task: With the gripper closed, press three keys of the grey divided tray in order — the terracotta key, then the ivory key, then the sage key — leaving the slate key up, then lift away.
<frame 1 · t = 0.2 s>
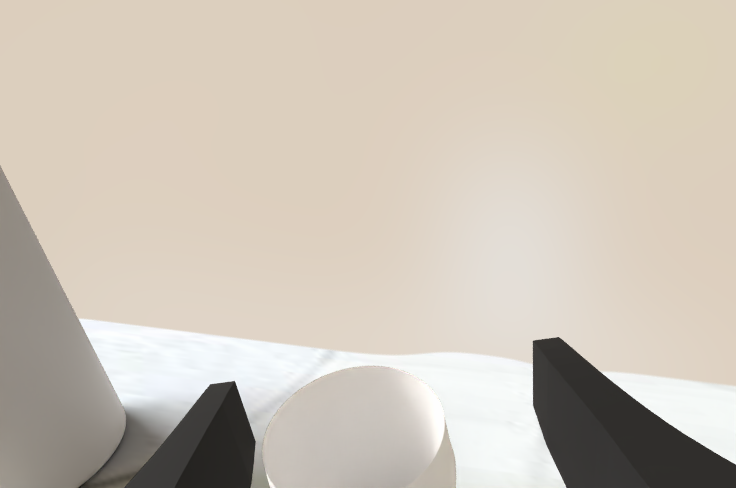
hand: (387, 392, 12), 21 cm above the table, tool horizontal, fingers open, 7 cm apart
cylinder vase: (54, 458, 44), on the table
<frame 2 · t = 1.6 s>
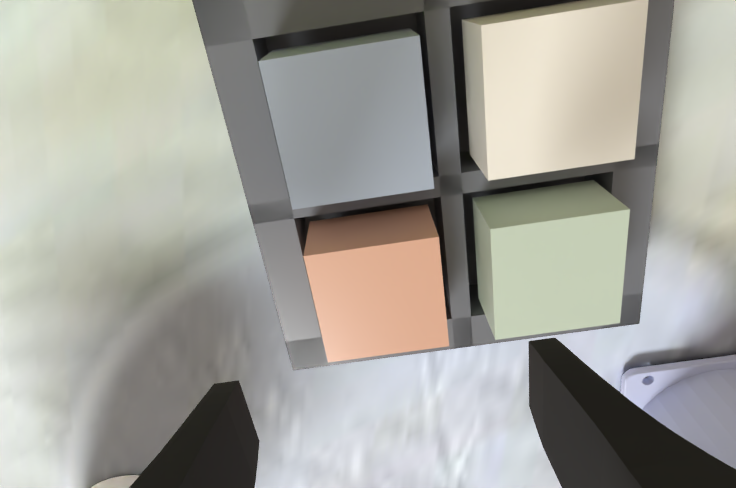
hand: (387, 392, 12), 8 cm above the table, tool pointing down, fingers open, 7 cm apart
terracotta key: (378, 282, 17), point 3 cm above the table, slide at 0.0 cm
grey divided tray: (439, 161, 19), on the table
sage key: (544, 259, 17), point 3 cm above the table, slide at 0.0 cm
slate key: (351, 117, 15), point 3 cm above the table, slide at 0.0 cm
ivory key: (546, 87, 14), point 3 cm above the table, slide at 0.0 cm
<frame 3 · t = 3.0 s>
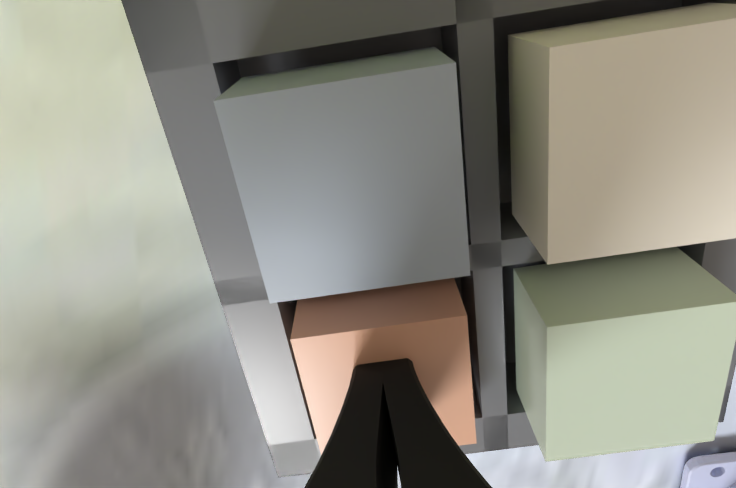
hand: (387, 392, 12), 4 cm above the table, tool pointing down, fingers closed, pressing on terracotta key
terracotta key: (386, 361, 14), point 2 cm above the table, slide at 0.8 cm, touching gripper
grey divided tray: (466, 214, 14), on the table
sage key: (611, 352, 13), point 3 cm above the table, slide at 0.0 cm
slate key: (353, 173, 10), point 3 cm above the table, slide at 0.0 cm
ivory key: (628, 131, 10), point 3 cm above the table, slide at 0.0 cm
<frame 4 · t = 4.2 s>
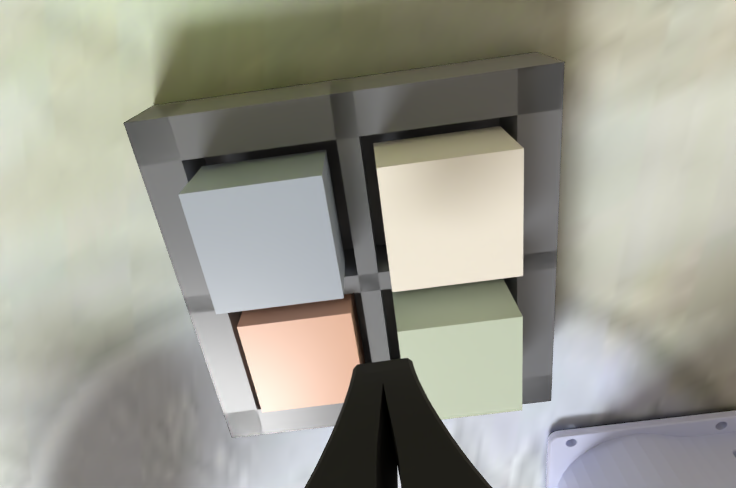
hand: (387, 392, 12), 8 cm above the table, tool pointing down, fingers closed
terracotta key: (307, 344, 20), point 2 cm above the table, slide at 1.4 cm
grey divided tray: (367, 249, 20), on the table
sage key: (456, 349, 18), point 3 cm above the table, slide at 0.0 cm
slate key: (271, 231, 16), point 3 cm above the table, slide at 0.0 cm
ivory key: (446, 208, 16), point 3 cm above the table, slide at 0.0 cm
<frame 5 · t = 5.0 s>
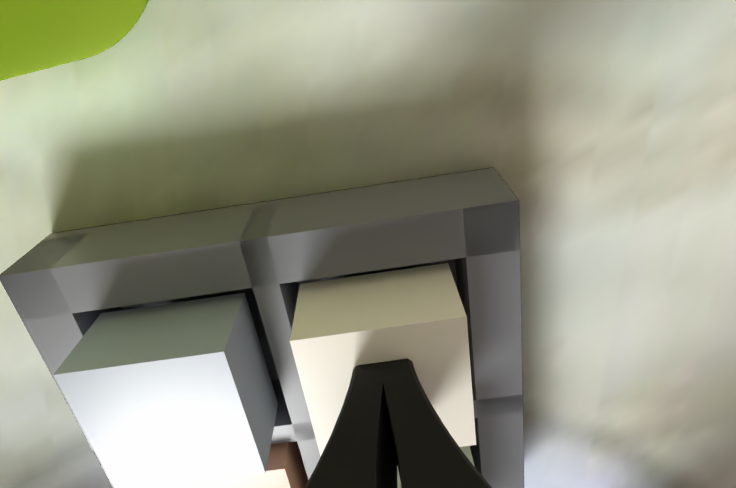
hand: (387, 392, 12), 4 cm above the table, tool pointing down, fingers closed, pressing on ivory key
terracotta key: (243, 486, 17), point 2 cm above the table, slide at 1.4 cm
grey divided tray: (312, 375, 18), on the table
slate key: (181, 391, 14), point 3 cm above the table, slide at 0.0 cm
ivory key: (386, 362, 14), point 3 cm above the table, slide at 0.1 cm, touching gripper
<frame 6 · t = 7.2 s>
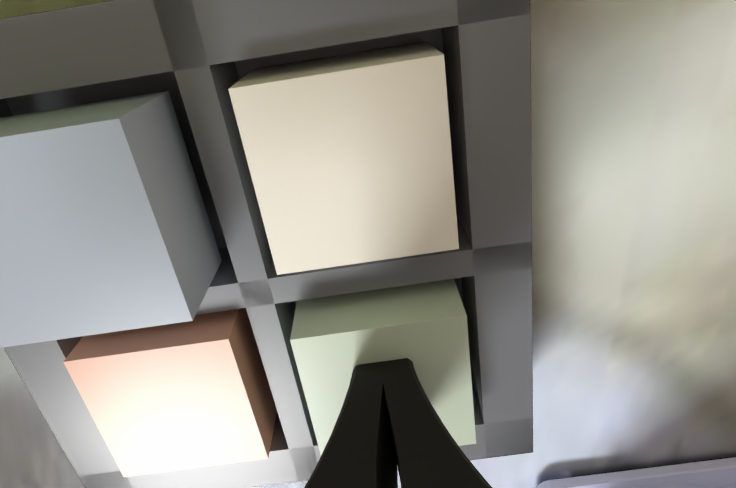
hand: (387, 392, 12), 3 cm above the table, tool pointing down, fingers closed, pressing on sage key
terracotta key: (186, 379, 14), point 2 cm above the table, slide at 1.4 cm
grey divided tray: (271, 246, 14), on the table
sage key: (386, 361, 14), point 2 cm above the table, slide at 1.0 cm, touching gripper
slate key: (84, 217, 10), point 3 cm above the table, slide at 0.0 cm
ivory key: (352, 156, 11), point 2 cm above the table, slide at 1.4 cm
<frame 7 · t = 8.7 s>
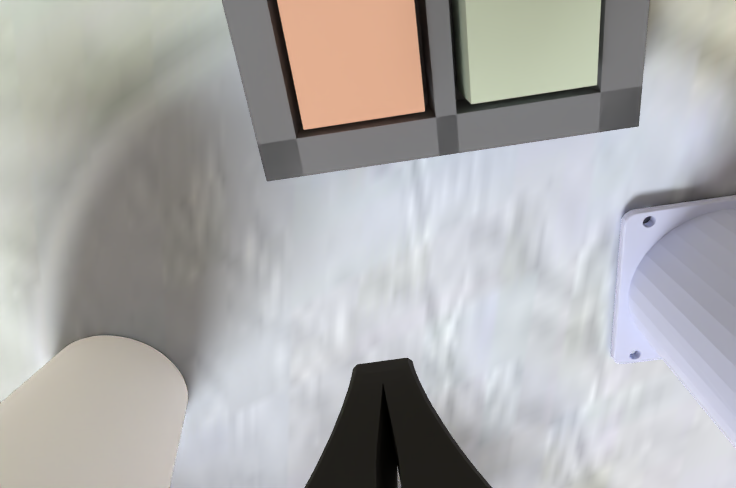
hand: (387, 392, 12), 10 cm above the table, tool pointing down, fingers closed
terracotta key: (354, 51, 17), point 2 cm above the table, slide at 1.4 cm
cup: (123, 384, 26), on the table
sage key: (521, 25, 17), point 2 cm above the table, slide at 1.4 cm
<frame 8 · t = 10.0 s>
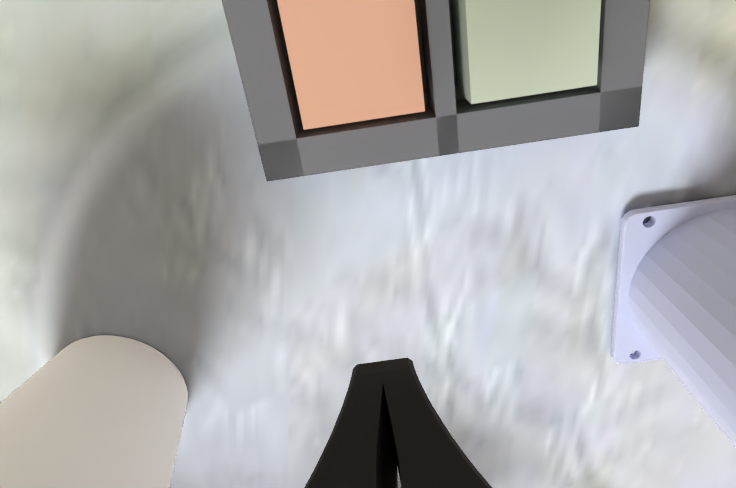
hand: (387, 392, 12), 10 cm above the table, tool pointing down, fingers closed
terracotta key: (354, 51, 17), point 2 cm above the table, slide at 1.4 cm
cup: (123, 384, 26), on the table
sage key: (521, 25, 17), point 2 cm above the table, slide at 1.4 cm
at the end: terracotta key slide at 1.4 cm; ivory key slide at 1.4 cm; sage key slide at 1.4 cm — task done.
